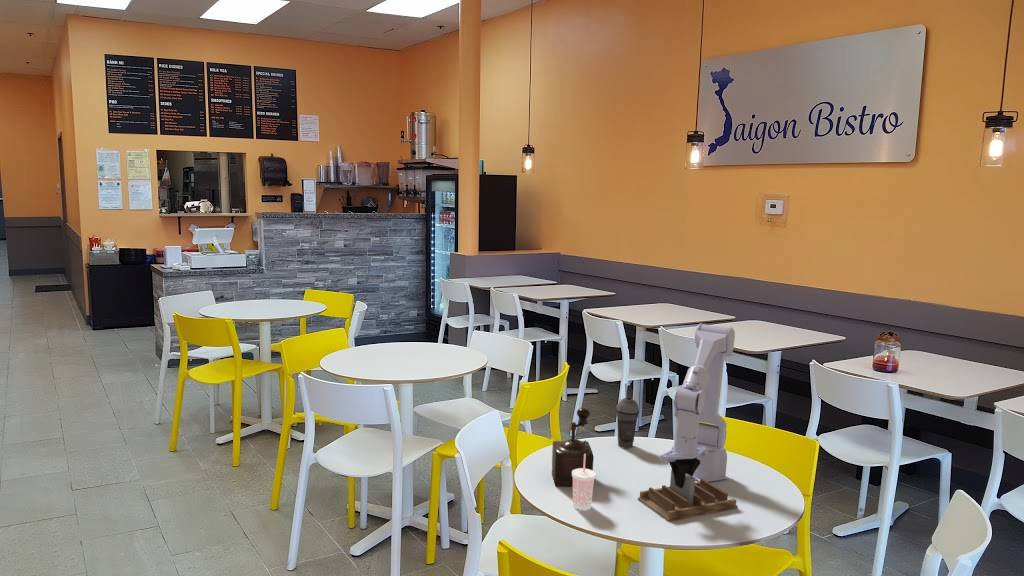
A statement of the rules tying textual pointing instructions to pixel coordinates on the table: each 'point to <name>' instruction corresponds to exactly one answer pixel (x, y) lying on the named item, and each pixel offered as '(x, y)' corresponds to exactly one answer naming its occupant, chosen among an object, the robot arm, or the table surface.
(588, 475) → the beverage cup
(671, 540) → the table surface
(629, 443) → the beverage cup
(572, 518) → the table surface
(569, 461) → the coffee grinder
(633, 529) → the table surface
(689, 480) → the grey upright slab
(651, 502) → the dish rack
